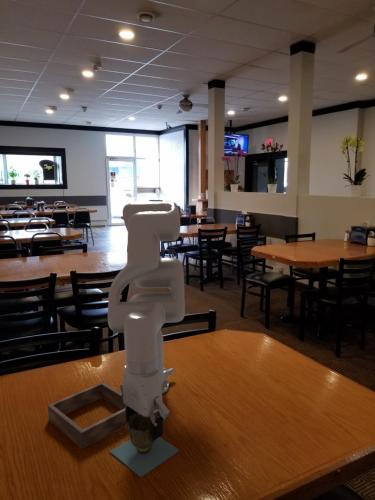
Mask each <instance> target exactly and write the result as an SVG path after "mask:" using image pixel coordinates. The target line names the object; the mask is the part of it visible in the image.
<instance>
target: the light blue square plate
mask: <svg viewBox="0 0 375 500" xmlns="http://www.w3.org/2000/svg"><path fill="white" fill-rule="evenodd" d="M179 452H180V449H179V448H177V447H176V446H174V445H172V444H171V443H169V442H168V441H166V440H165V439H164V438H163V437H161V436H160V437H159V438H157V439H156V440H155V442H154V444H153V445H152V446H151V449H150V451H149V452H148V453H145V454H141V453H139V452H138V451H137V449H136V447H135V446H134V445H133V444H132V442H131V440H130V439H129V440H127V441H124V442H123V443H121V444H120V445H118V446H116V447H115V448H113V449H112V450H110V451H109V453H110V454H111V455H112V456H114V457H115V458H116V459H117V460H118V461H120V462H121V463H122V464H124V466H126V467H127V468H129V470H131V471H132V472H134V473H135V474H136V475H137V476H139V477H140V478H143V477H144V476H145V475H147V474H148V473H149V472H151V471H153V470H155V468H158V466H160V465H161V464H163V463H164V462H166V461H167V460H168V459H170V458H172V457H173V456H174V455H176V454H177V453H179Z"/></svg>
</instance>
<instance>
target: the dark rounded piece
mask: <svg viewBox="0 0 375 500" xmlns="http://www.w3.org/2000/svg"><path fill="white" fill-rule="evenodd" d="M155 414H156V413H154V416H155V418H156V419H157V418H158V415H155ZM127 424H128V425H127V429H128V434H129V435H128V436H129V440H131V442H132V444H133V445H134V446H135V447H136V449H137V451H138V452H139V453H141V454H145V453H148V452H149V451H150V449H151V446H152V445H153V444H154V442H155V440H154V441H153V440H152V439H151V424H153V423H152V421H151V419H150V417H144V416H142V415H141V414H139V415H138V414H136V413H135V414H134V415H133V416H130V421H129V422H128V421H127Z"/></svg>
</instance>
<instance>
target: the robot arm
mask: <svg viewBox="0 0 375 500" xmlns="http://www.w3.org/2000/svg"><path fill="white" fill-rule="evenodd" d="M180 217H181V216H180V208H179V206H178V204H177V203H176V202H174V201H134V202H130V203H129V202H128V203H127V204H124V206H123V208H122V219H123V223H124V227H125V229H126V231H127V250H126V251H127V253H126V256H127V257H126V259H127V260H126V264H125V266H124V267H123V268H122V269H121V270H120V271H119V272H118V274H116V276H115V277H114V279H113V281H112V282H111V286H110V288H109V291H108V302H107V303H108V304H107V325H108V326H109V329H110V330H111V331H113V332H114V333H123V334H124V348H125V349H124V350H125V351H124V353H125V354H124V355H125V365H124V367H123V368H124V369H123V375H122V376H123V377H122V384H120V385H119V389H120V393H122V398H123V402H124V406H125V407H126V408H125V410H126V422H127V421H128V422H129V421H130V416H133V415H134V414H135V413H136V414H137V412H138V413H139V415H140V414H141V415H142V416H144V417H150V419H151V421H152V423H153V424H151V439H152V440H153V441H154V440H156V439H157V438H159V437H160V438H161V437H163V434H164V423H163V422H165V421H166V420H167V419H168V416H169V415H170V409H169V408H168V407H167V406H166V405H165V403H164V402H163V394H164V393H166V392H167V391H168V390H169V388H170V383H169V380H168V377H169V376H171V375H174V374H175V369H174V368H173V367H172V368H171V367H170V368H169V369H167V367H164V365H165V364H164V335H163V332H162V330H161V329H162V327H163V325H164V324H166V323H169V324H170V323H178V322H181V321H183V320H184V318H185V316H186V314H185V313H186V304H185V303H186V300H185V298H186V297H185V275H184V274H185V273H184V266H183V263H182V261H181V260H180V259H178V258H176V257H161V255H160V253H161V252H160V251H161V250H160V248H161V247H160V242H175V241H177V240H178V239H179V237H180V235H181V218H180ZM132 282H134V284H135V286H136V287H137V288H139V289H140V288H141V289H169V290H170V291H168V292H167V291H166V292H164V291H163V292H157V291H156V292H152V291H151V292H140V293H139V292H138V293H137V294H134V295H132V296H131V298H130V299H129V301H121V294H122V292H123V290H124V289H125V288H126V287H127V286H129V284H130V283H132ZM154 414H156V415H157V416H158V418H157V419H156V418H155V417H156V415H155V416H154Z"/></svg>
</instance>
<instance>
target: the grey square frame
mask: <svg viewBox="0 0 375 500" xmlns="http://www.w3.org/2000/svg"><path fill="white" fill-rule="evenodd" d="M101 399H104V400H105V401H106V402H109V403H110V404H111V405H113V406H114V407H115V408H118V409H119V411H117V412H115V413H112V414H110V415H108V416H107V417H105V418H102V419H101V420H99V421H97V422H95V423H93V424H90V425H89V426H87V427H85V428H82V427H81V426H80V425H78V424H77V423H76V422H74V421H73V420H72V419H71V418H70V417H68V416H66V415H68V414H70V413H72V412H74V411H77V410H79V409H82V408H84V407H86V406H87V405H90V404H92V403H94V402H96V401H98V400H101ZM125 408H126V407H125V406H124V402H123V398H122V393H121V391H118V390H117V389H115V388H114V387H112V386H110V385H109V384H107V383H105V382H103V381H102V382H99V383H96V384H95V385H92V386H90V387H87V388H85V389H83V390H80V391H79V392H78V391H77V392H76V393H73V394H71V395H68V396H66V397H64V398H61V399H60V400H57V401H55V402H52V403H50V404H48V405H47V414H48V415H47V416H48V421H49V422H50V423H51V424H53V426H55V427H56V428H57V429H58V430H60V431H61V433H63V434H64V435H65V436H66V437H68V438H69V440H71V441H72V442H73V443H74V444H76V445H77V446H78V447H79V448H80V449H81V450H85V449H86V448H87V447H89V446H91V445H93V444H96V443H97V442H98V441H100V440H103V439H104V438H105V437H108V436H110V435H111V434H114V433H115V432H117V431H119V430H121V429H122V428H124V427H127V426H128V424H127V422H126V410H125ZM137 414H138V415H140V414H139V413H138V412H137Z"/></svg>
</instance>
